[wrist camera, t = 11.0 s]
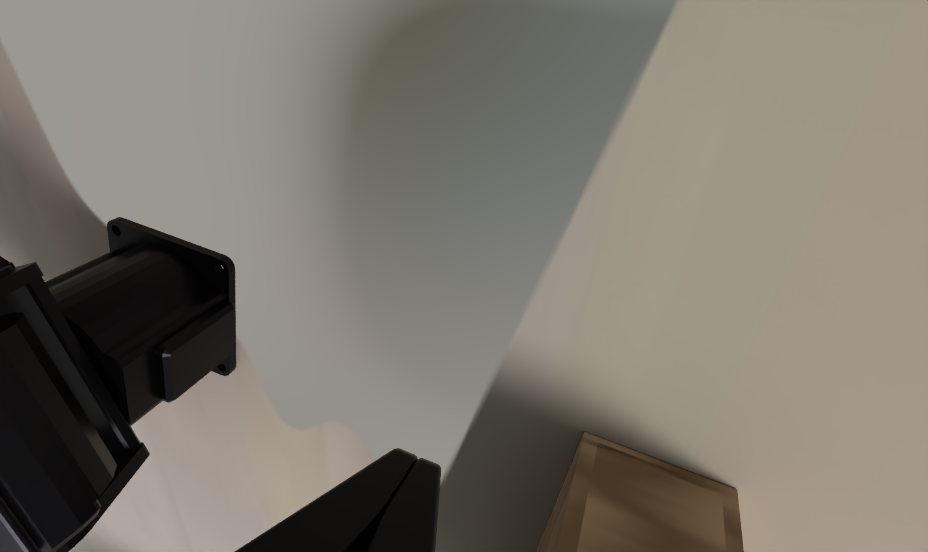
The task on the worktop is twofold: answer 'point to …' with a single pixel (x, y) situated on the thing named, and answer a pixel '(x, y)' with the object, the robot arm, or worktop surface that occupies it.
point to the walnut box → (639, 506)
